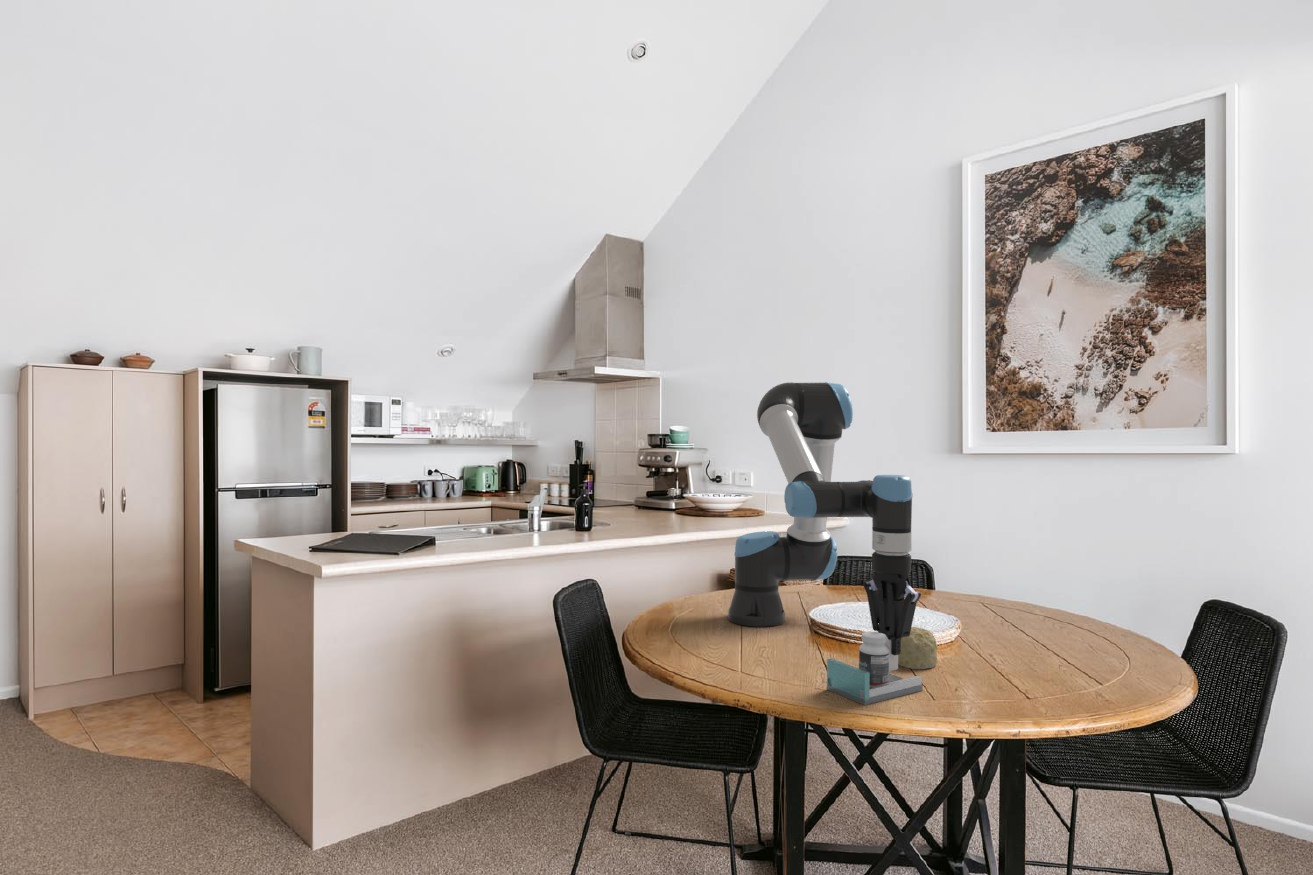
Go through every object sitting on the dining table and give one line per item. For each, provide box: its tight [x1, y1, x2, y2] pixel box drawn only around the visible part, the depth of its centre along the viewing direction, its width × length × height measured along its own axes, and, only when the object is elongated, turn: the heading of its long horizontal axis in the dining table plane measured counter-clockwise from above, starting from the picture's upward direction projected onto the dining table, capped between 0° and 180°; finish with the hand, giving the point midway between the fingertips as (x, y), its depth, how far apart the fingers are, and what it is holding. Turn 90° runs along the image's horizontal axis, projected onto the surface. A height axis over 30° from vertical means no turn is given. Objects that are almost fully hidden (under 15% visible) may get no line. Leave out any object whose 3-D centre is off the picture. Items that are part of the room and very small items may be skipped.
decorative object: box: [898, 626, 938, 670], centre depth 169 cm, size 9×10×10 cm
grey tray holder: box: [826, 658, 924, 706], centre depth 152 cm, size 16×10×6 cm, turn 121°
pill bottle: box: [858, 631, 890, 687], centre depth 152 cm, size 6×6×10 cm
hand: (890, 669), depth 154 cm, fingers closed
